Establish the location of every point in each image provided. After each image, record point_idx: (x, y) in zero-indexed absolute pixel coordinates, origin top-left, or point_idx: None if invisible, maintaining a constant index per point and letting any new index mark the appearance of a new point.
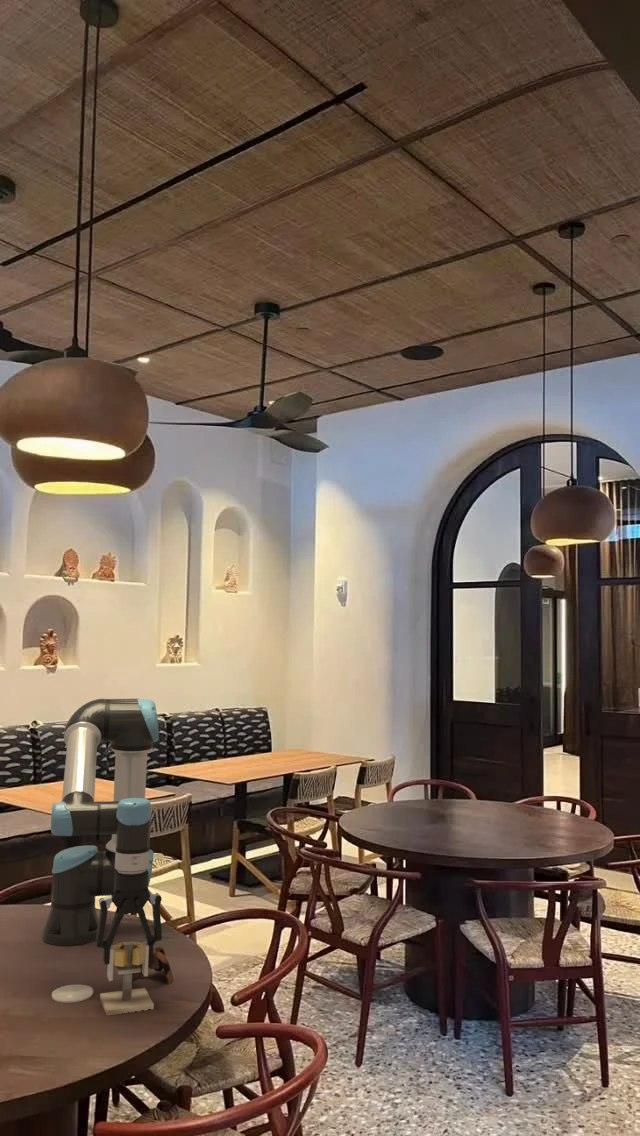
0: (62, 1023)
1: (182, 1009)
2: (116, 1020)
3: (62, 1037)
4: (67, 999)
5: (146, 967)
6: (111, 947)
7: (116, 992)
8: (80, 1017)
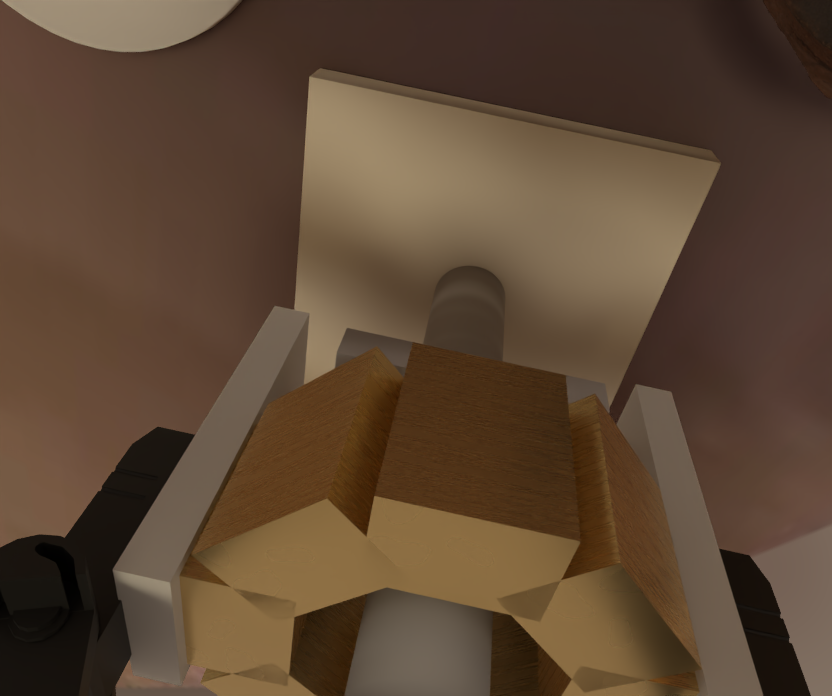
0: (41, 332)
1: (725, 514)
2: None
3: (53, 462)
4: (32, 11)
5: None
6: (156, 624)
7: (448, 130)
8: (143, 314)
